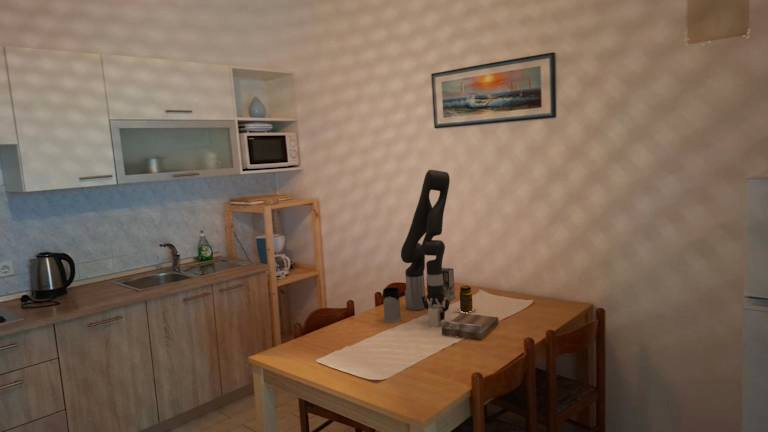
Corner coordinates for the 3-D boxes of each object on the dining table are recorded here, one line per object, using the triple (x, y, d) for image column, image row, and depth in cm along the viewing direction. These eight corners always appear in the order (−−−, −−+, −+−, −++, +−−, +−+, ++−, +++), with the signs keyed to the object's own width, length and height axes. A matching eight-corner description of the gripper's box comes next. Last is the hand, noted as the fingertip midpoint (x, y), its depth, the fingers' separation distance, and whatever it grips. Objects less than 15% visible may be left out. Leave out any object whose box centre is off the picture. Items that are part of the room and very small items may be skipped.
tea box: (428, 325, 240) (427, 309, 239) (435, 320, 247) (435, 304, 246) (438, 327, 238) (437, 310, 237) (445, 321, 244) (444, 305, 243)
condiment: (476, 310, 259) (475, 286, 257) (465, 314, 253) (464, 290, 251) (464, 307, 264) (463, 284, 262) (453, 311, 258) (452, 288, 256)
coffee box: (455, 297, 281) (454, 268, 279) (450, 300, 276) (448, 271, 274) (440, 295, 286) (438, 267, 284) (434, 299, 281) (433, 269, 279)
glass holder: (381, 322, 248) (379, 292, 246) (388, 313, 262) (386, 284, 260) (399, 323, 246) (397, 292, 244) (405, 313, 260) (403, 284, 258)
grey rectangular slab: (441, 334, 228) (441, 321, 227) (461, 319, 247) (460, 306, 246) (481, 340, 218) (480, 326, 218) (498, 323, 237) (498, 310, 236)
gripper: (417, 283, 240) (419, 319, 242) (445, 286, 233) (447, 323, 235) (424, 279, 247) (426, 314, 249) (452, 282, 239) (454, 318, 241)
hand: (436, 318), depth 242 cm, fingers closed on tea box, 5 cm apart
